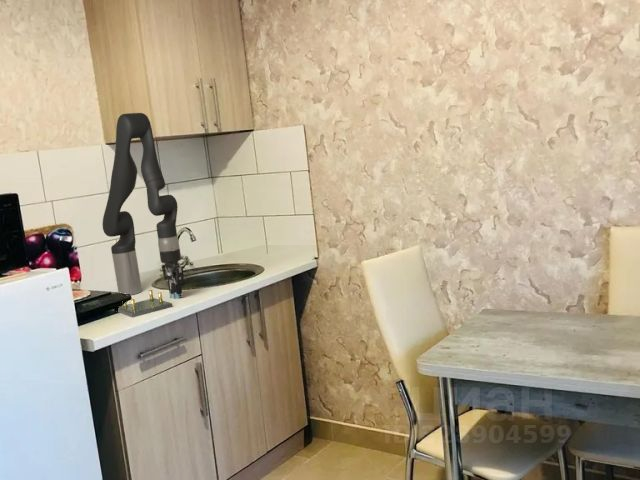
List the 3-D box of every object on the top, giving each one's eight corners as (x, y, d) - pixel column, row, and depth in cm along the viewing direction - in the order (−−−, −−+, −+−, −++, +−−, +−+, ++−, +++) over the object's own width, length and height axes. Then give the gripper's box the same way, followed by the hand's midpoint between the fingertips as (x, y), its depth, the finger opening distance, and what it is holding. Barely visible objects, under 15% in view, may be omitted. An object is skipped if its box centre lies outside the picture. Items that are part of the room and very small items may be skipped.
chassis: (115, 311, 235) (113, 297, 235) (154, 301, 244) (152, 287, 243) (132, 317, 223) (129, 302, 222) (172, 306, 232) (170, 292, 231)
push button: (188, 296, 246) (184, 270, 244) (178, 300, 241) (174, 273, 240) (176, 295, 249) (172, 270, 248) (165, 299, 245) (161, 273, 244)
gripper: (152, 249, 246) (158, 292, 249) (168, 252, 235) (174, 297, 238) (170, 245, 251) (176, 288, 253) (187, 248, 239) (193, 292, 242)
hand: (175, 292), depth 245 cm, fingers closed on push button, 5 cm apart
